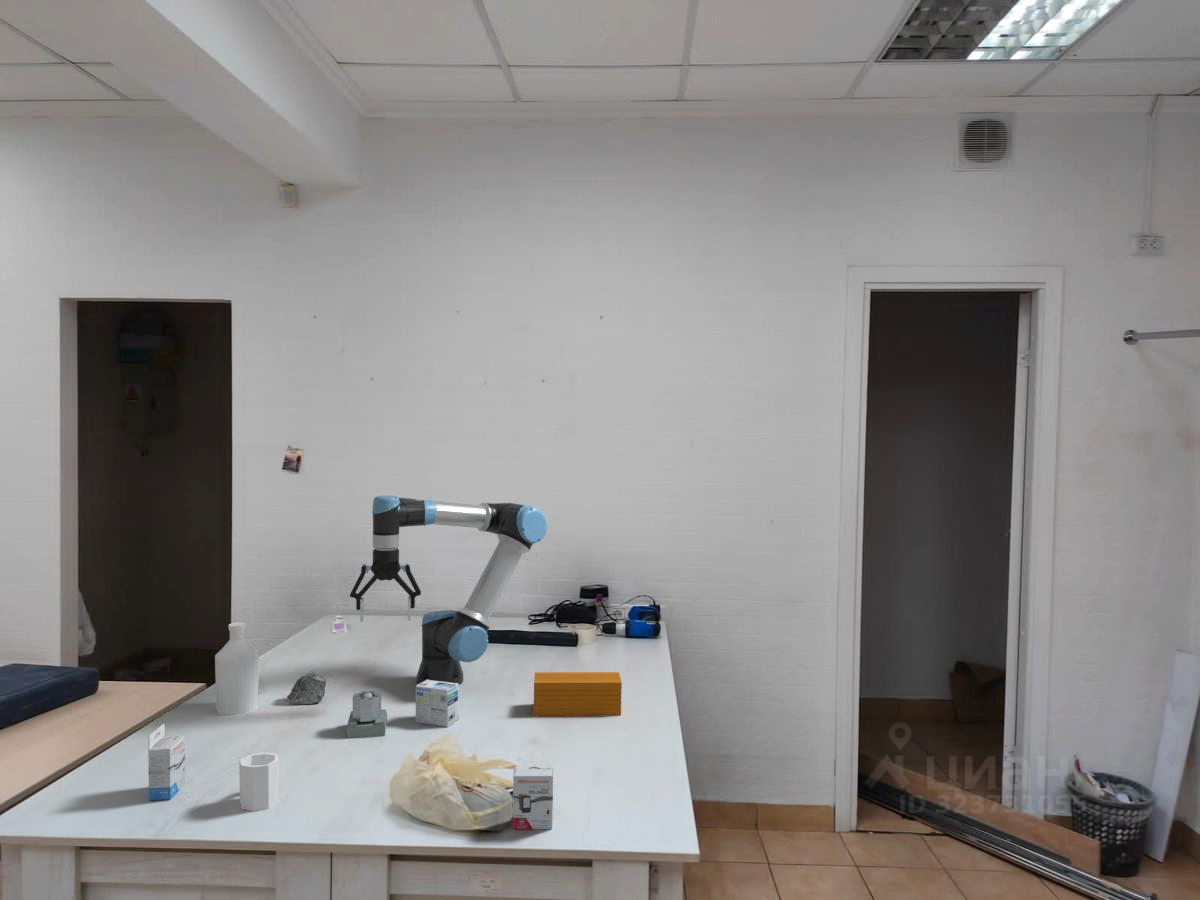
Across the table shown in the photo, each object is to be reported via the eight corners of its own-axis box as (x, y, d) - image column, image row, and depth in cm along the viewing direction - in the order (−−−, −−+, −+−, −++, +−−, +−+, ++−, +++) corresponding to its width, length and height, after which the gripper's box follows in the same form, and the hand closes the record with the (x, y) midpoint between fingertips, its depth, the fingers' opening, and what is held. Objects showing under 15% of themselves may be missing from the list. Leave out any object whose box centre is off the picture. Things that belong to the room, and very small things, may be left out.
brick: (618, 704, 257) (619, 672, 257) (621, 716, 247) (621, 682, 247) (534, 704, 256) (534, 672, 256) (533, 716, 246) (533, 682, 246)
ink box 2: (511, 830, 178) (512, 775, 178) (513, 819, 183) (513, 765, 183) (552, 829, 179) (553, 774, 178) (552, 818, 184) (553, 765, 183)
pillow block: (386, 722, 239) (387, 687, 239) (384, 735, 229) (384, 699, 229) (350, 724, 237) (350, 689, 237) (346, 738, 227) (346, 701, 227)
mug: (272, 811, 185) (272, 767, 185) (232, 811, 185) (232, 767, 185) (290, 787, 197) (290, 745, 197) (252, 787, 197) (252, 745, 197)
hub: (381, 711, 237) (381, 690, 237) (379, 720, 230) (380, 699, 230) (354, 712, 236) (354, 691, 236) (351, 722, 229) (351, 700, 228)
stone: (303, 673, 250) (320, 662, 260) (279, 692, 252) (297, 681, 262) (322, 699, 250) (339, 687, 260) (299, 718, 252) (316, 706, 261)
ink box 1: (170, 800, 190) (170, 736, 189) (147, 801, 189) (147, 736, 189) (186, 784, 198) (185, 722, 198) (164, 784, 198) (163, 722, 197)
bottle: (236, 699, 257) (235, 618, 256) (267, 704, 253) (267, 621, 252) (206, 712, 246) (205, 627, 245) (238, 717, 242) (238, 631, 241)
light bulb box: (459, 719, 242) (459, 682, 242) (447, 727, 236) (448, 689, 235) (426, 715, 246) (427, 678, 245) (414, 722, 239) (414, 685, 239)
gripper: (429, 545, 254) (429, 615, 255) (343, 547, 249) (343, 618, 250) (429, 549, 246) (428, 621, 247) (340, 551, 242) (340, 624, 243)
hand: (385, 620), depth 249 cm, fingers open, 13 cm apart
